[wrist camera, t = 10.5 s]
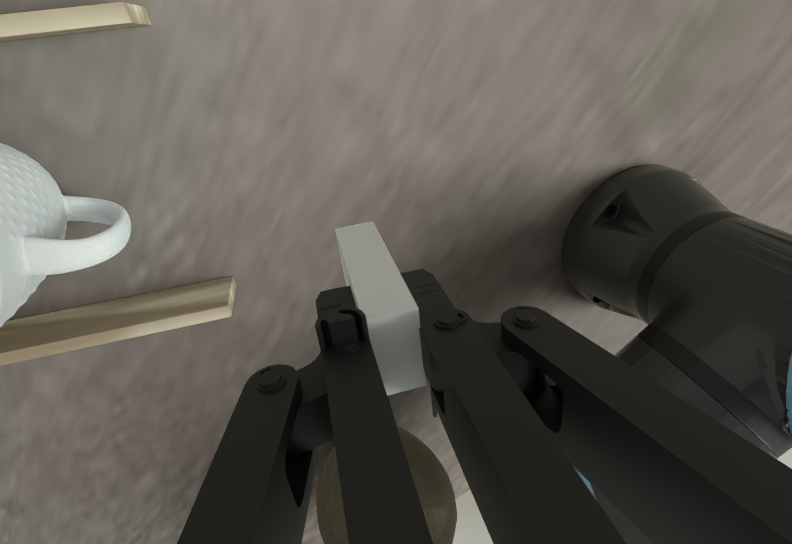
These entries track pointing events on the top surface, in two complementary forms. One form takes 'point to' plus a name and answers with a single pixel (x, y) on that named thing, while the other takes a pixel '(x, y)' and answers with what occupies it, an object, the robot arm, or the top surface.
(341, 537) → the cantaloupe
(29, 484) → the top surface
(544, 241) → the top surface
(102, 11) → the corral
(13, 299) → the mug
